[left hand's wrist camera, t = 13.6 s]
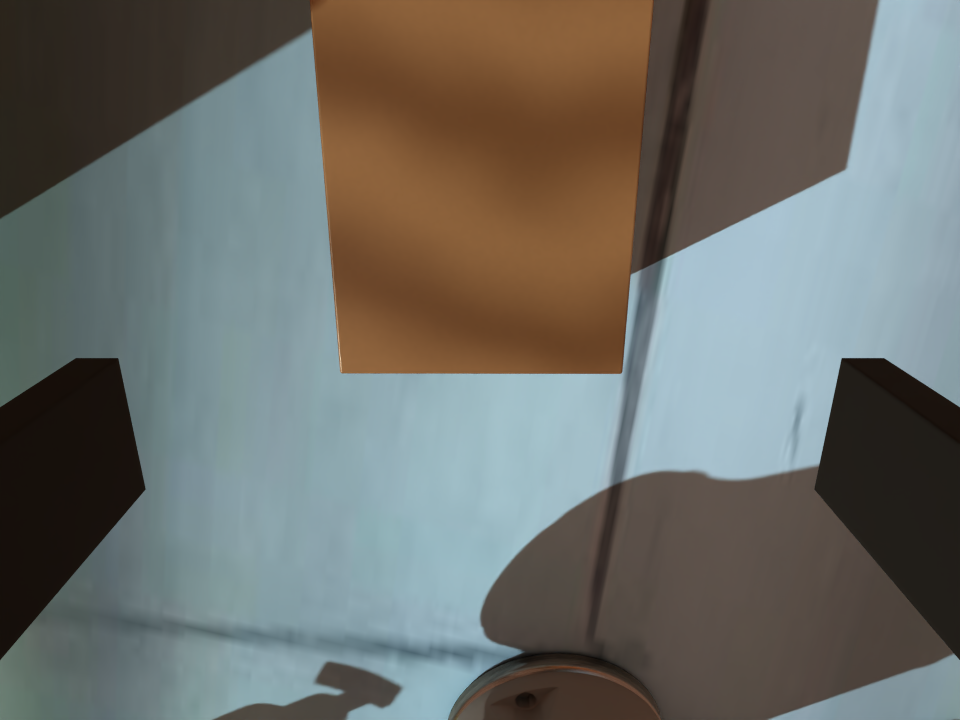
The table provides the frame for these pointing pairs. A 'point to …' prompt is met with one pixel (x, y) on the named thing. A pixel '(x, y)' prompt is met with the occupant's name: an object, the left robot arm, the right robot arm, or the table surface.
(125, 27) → the table surface
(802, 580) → the table surface
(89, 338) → the table surface
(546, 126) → the cabinet
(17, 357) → the table surface
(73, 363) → the left robot arm
